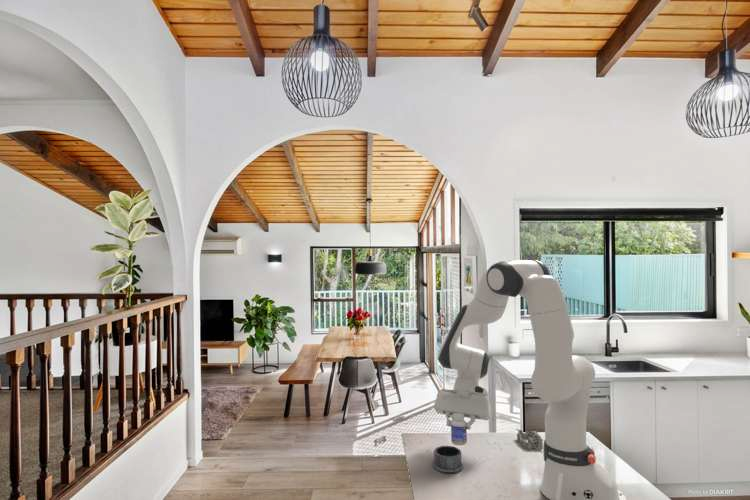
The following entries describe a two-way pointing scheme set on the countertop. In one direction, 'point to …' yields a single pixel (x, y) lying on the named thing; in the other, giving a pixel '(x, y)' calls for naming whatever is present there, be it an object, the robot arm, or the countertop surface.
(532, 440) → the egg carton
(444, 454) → the cup holder
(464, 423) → the pill bottle
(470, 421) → the robot arm
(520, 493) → the countertop surface
